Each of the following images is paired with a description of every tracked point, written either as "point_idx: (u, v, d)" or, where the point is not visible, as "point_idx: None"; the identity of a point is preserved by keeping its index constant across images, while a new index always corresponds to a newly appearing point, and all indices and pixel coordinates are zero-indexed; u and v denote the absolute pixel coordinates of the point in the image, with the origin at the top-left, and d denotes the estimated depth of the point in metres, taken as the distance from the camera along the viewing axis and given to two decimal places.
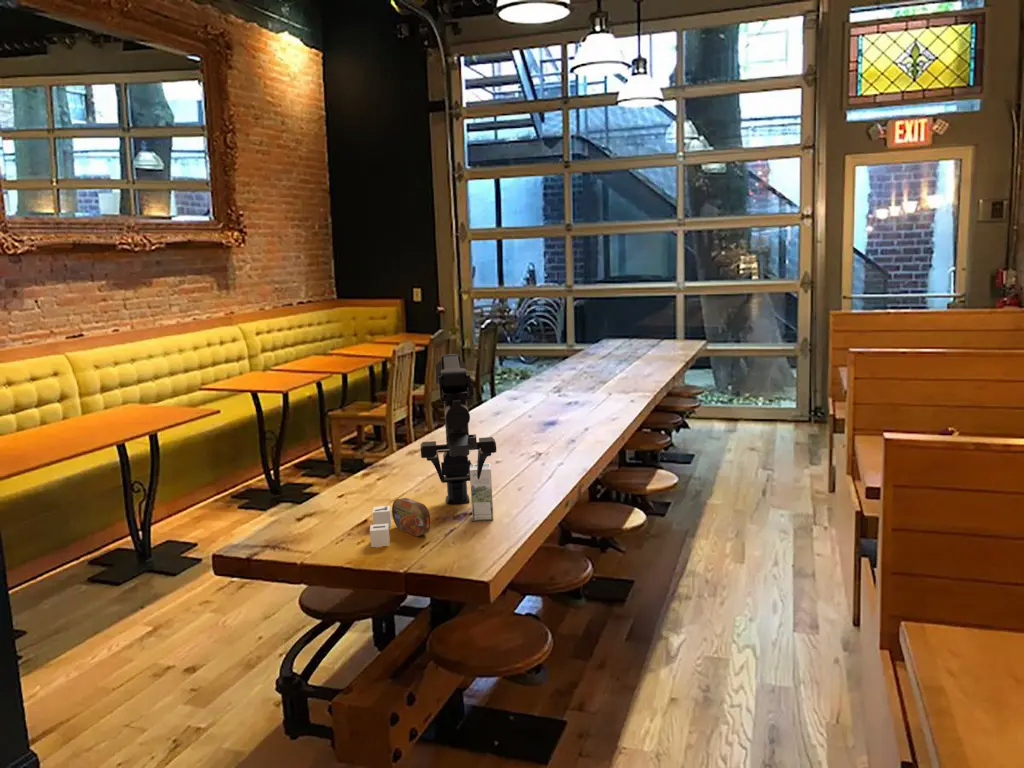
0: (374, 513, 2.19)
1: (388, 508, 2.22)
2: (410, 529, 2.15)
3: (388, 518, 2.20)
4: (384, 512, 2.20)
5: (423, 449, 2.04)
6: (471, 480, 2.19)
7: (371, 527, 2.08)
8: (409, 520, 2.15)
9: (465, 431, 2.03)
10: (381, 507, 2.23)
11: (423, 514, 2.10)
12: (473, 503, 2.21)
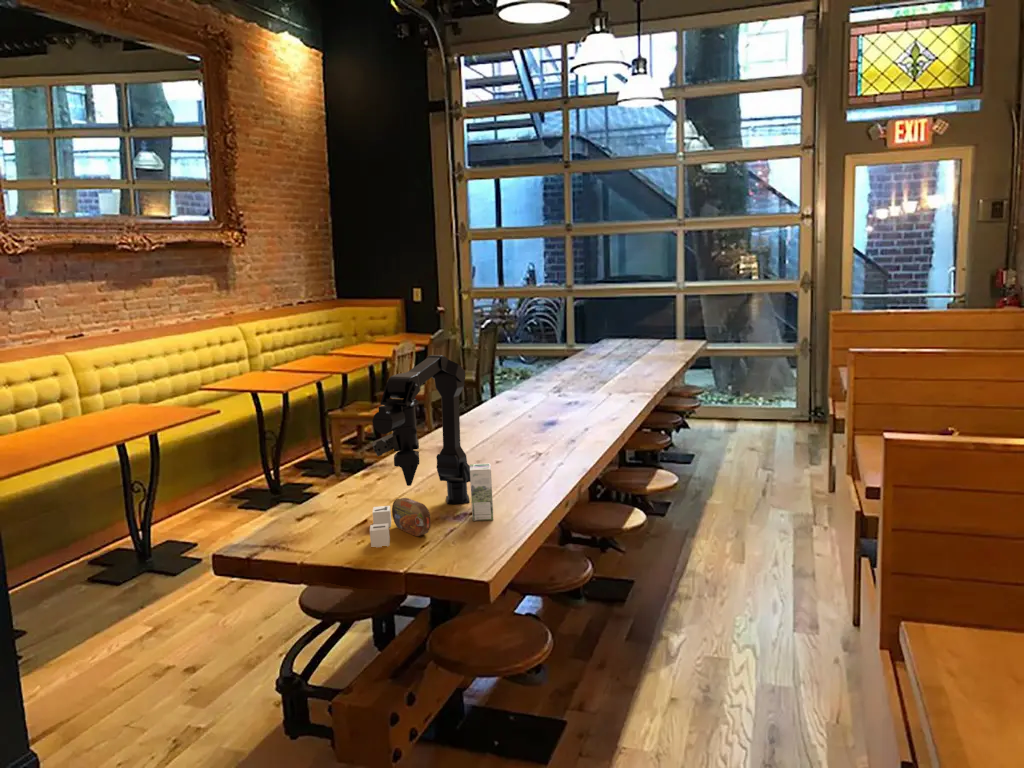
0: (374, 513, 2.19)
1: (388, 508, 2.22)
2: (410, 529, 2.15)
3: (388, 518, 2.20)
4: (384, 512, 2.20)
5: None
6: (471, 480, 2.19)
7: (371, 527, 2.08)
8: (409, 520, 2.15)
9: (392, 436, 2.09)
10: (381, 507, 2.23)
11: (423, 514, 2.10)
12: (473, 503, 2.21)
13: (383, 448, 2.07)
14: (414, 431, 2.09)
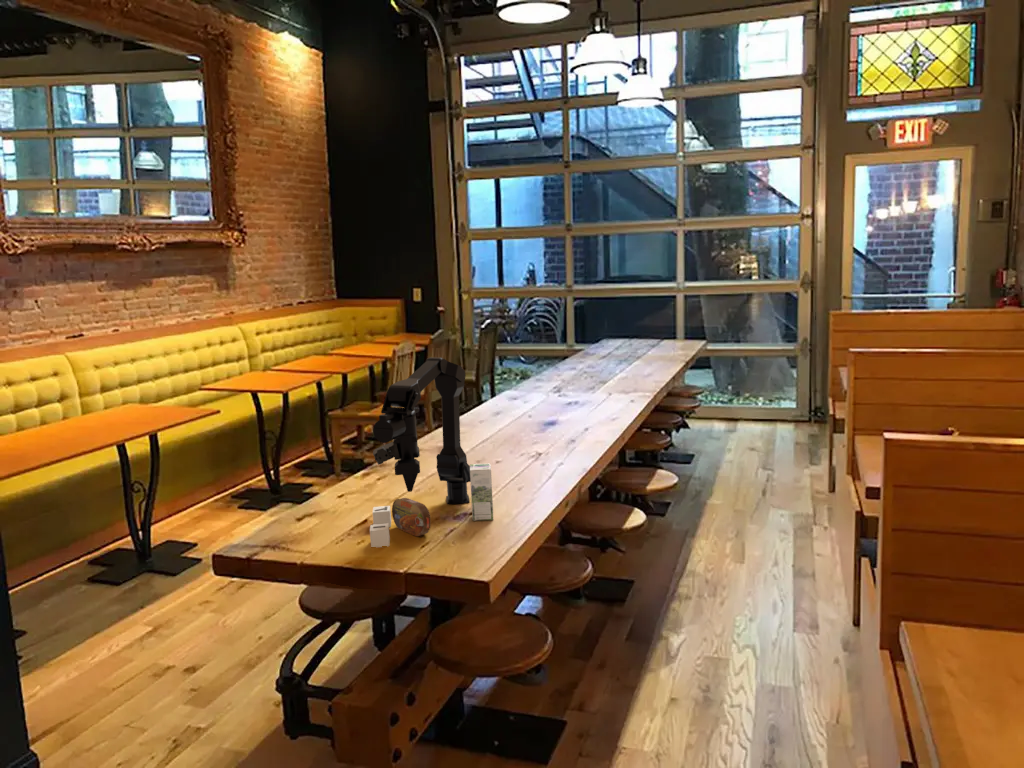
0: (374, 513, 2.19)
1: (388, 508, 2.22)
2: (410, 529, 2.15)
3: (388, 518, 2.20)
4: (384, 512, 2.20)
5: None
6: (471, 480, 2.19)
7: (371, 527, 2.08)
8: (409, 520, 2.15)
9: (393, 444, 2.10)
10: (381, 507, 2.23)
11: (423, 514, 2.10)
12: (473, 503, 2.21)
13: (384, 456, 2.08)
14: (415, 439, 2.10)
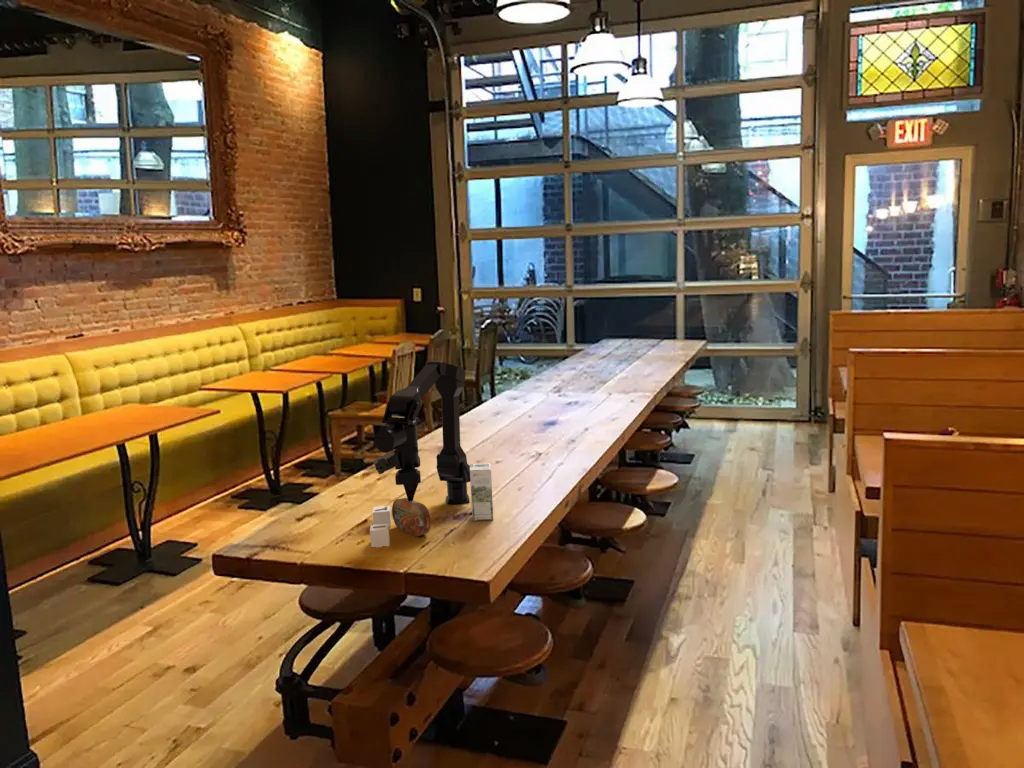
0: (374, 513, 2.19)
1: (388, 508, 2.22)
2: (410, 529, 2.15)
3: (388, 518, 2.20)
4: (384, 512, 2.20)
5: None
6: (471, 480, 2.19)
7: (371, 527, 2.08)
8: (409, 520, 2.15)
9: (394, 454, 2.10)
10: (381, 507, 2.23)
11: (423, 514, 2.10)
12: (473, 503, 2.21)
13: (385, 466, 2.08)
14: (415, 449, 2.10)
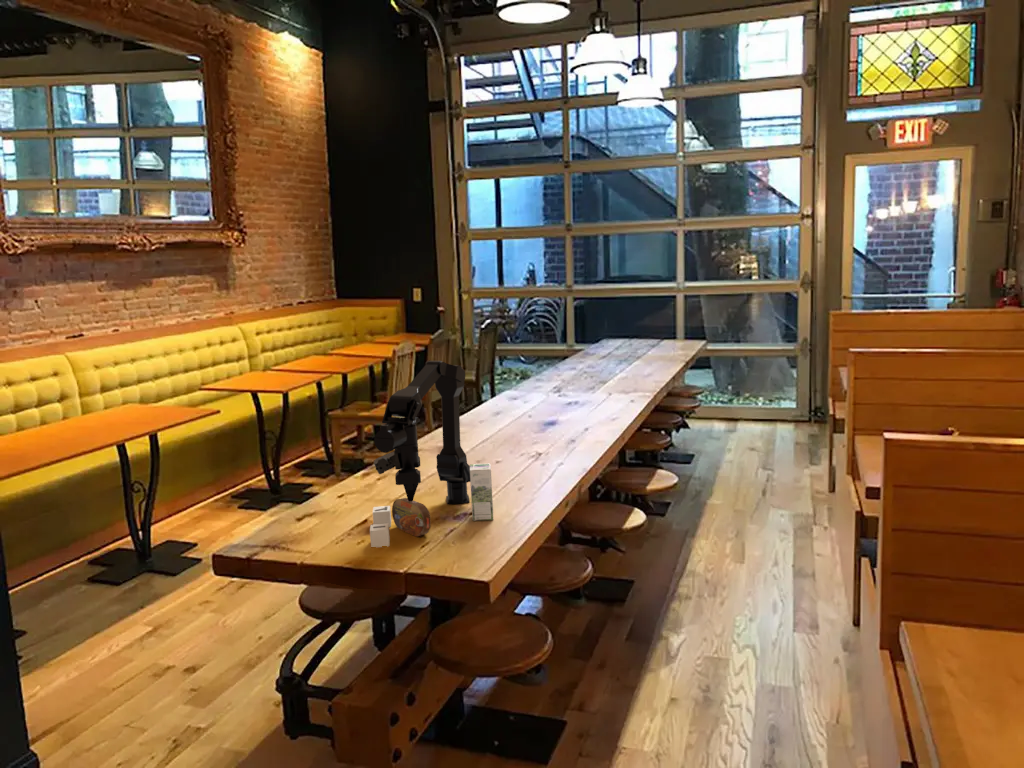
0: (374, 513, 2.19)
1: (388, 508, 2.22)
2: (410, 529, 2.15)
3: (388, 518, 2.20)
4: (384, 512, 2.20)
5: None
6: (471, 480, 2.19)
7: (371, 527, 2.08)
8: (409, 520, 2.15)
9: (394, 454, 2.10)
10: (381, 507, 2.23)
11: (423, 514, 2.10)
12: (473, 503, 2.21)
13: (385, 466, 2.08)
14: (415, 449, 2.10)
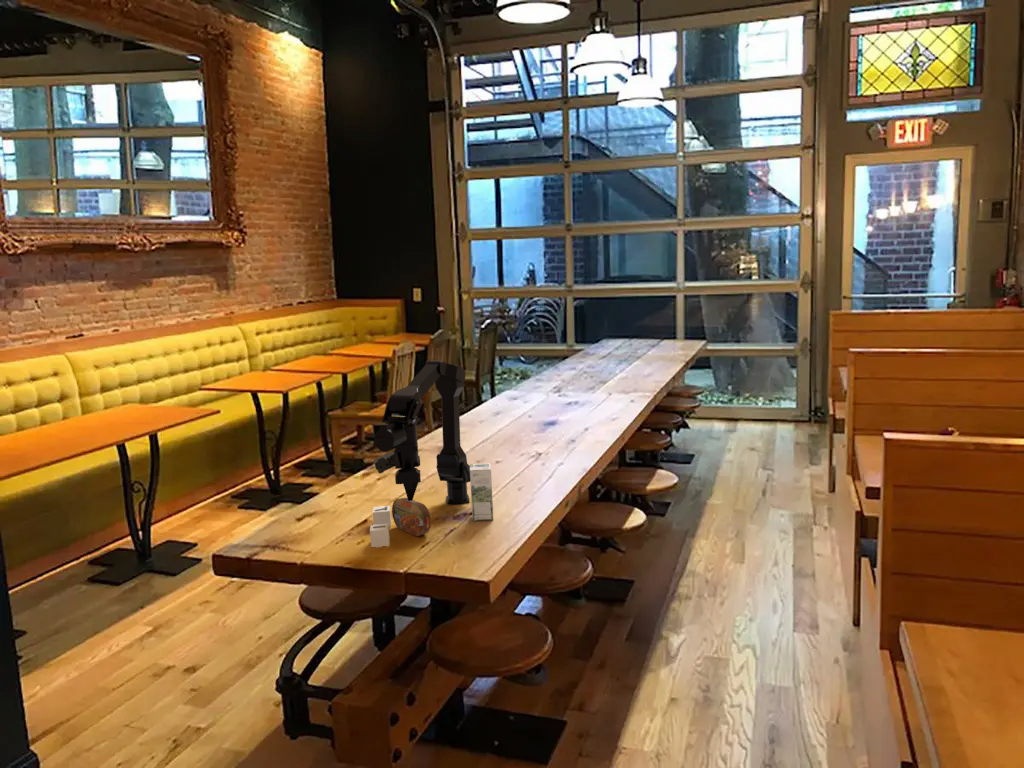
0: (374, 513, 2.19)
1: (388, 508, 2.22)
2: (410, 529, 2.15)
3: (388, 518, 2.20)
4: (384, 512, 2.20)
5: None
6: (471, 480, 2.19)
7: (371, 527, 2.08)
8: (409, 520, 2.15)
9: (394, 453, 2.10)
10: (381, 507, 2.23)
11: (423, 514, 2.10)
12: (473, 503, 2.21)
13: (384, 465, 2.08)
14: (415, 448, 2.10)
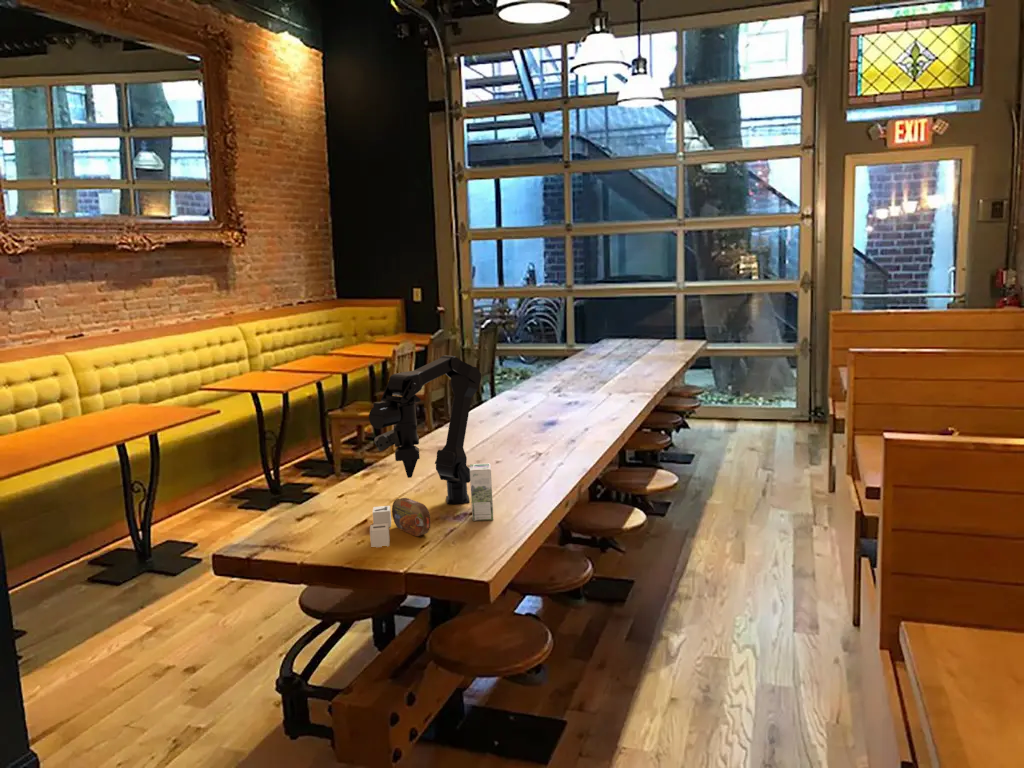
0: (374, 513, 2.19)
1: (388, 508, 2.22)
2: (410, 529, 2.15)
3: (388, 518, 2.20)
4: (384, 512, 2.20)
5: None
6: (471, 480, 2.19)
7: (371, 527, 2.08)
8: (409, 520, 2.15)
9: (393, 431, 2.18)
10: (381, 507, 2.23)
11: (423, 514, 2.10)
12: (473, 503, 2.21)
13: (385, 443, 2.16)
14: (414, 427, 2.18)
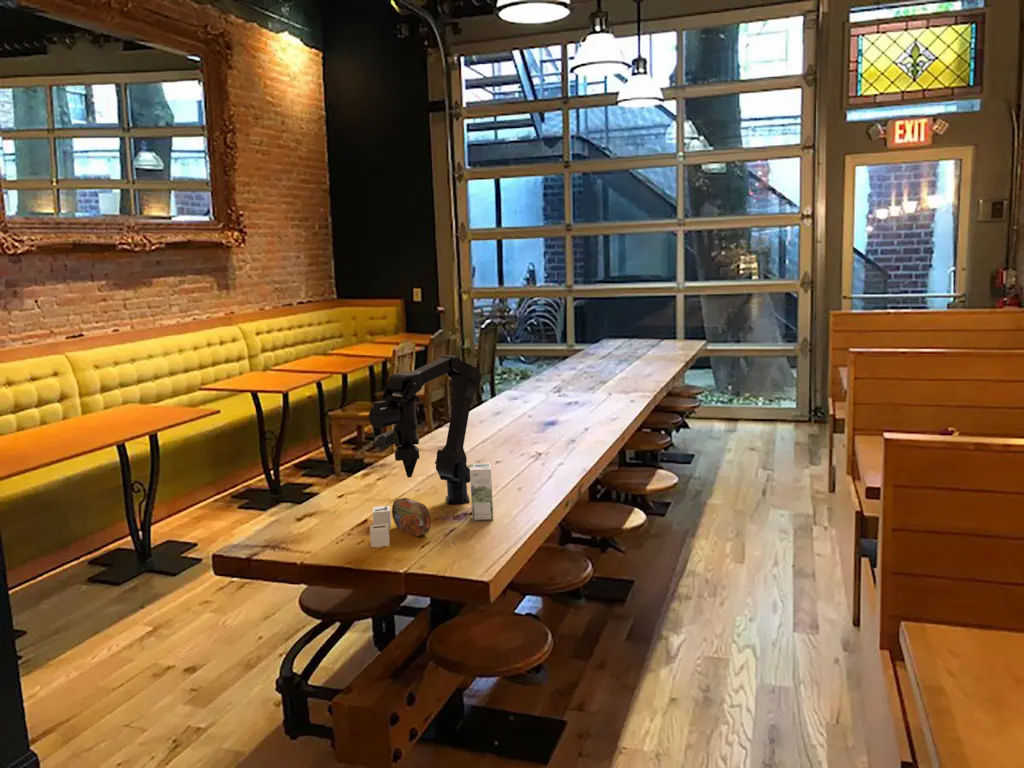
0: (374, 513, 2.19)
1: (388, 508, 2.22)
2: (410, 529, 2.15)
3: (388, 518, 2.20)
4: (384, 512, 2.20)
5: None
6: (471, 480, 2.19)
7: (371, 527, 2.08)
8: (409, 520, 2.15)
9: (393, 431, 2.18)
10: (381, 507, 2.23)
11: (423, 514, 2.10)
12: (473, 503, 2.21)
13: (384, 443, 2.16)
14: (414, 427, 2.18)
